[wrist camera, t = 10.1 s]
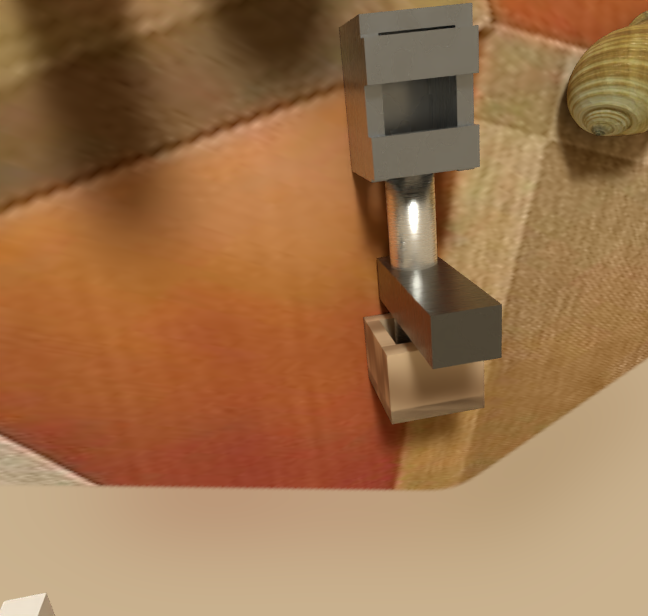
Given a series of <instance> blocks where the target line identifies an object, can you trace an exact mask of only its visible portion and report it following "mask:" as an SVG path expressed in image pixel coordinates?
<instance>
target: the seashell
mask: <svg viewBox="0 0 648 616" xmlns="http://www.w3.org/2000/svg"><path fill="white" fill-rule="evenodd" d="M567 106H568V108H569V111H570V114H571V116H572V117H573V119H574V120H575V122H576V123H577V124H578V125H579V126H580V127H581V128H582V129H584V130H585V131H587V132H589V133H592V134H595V135H596V136H613V135H615V136H623V135H634V134H641V133H643V132H646V131H647V130H648V11H645V12H643V13H642V14H640V15H639V16H637V17H636V18H635V19H634V20H633V21H632V23H631V24H630V25H629V26H628V27H624V28H622V29H618V30H616V31H613V32H611V33H609V34H608V35H606V36H604V37H602V38H601V39H599V40H598V41H597V42H595V43H594V44H593V45H592V46H591V47H590V48H589V49H588V50H587V51H586V52H585V53H584V55H583V56H582V57H581V59H580V60H579V62H578V63H577V65H576V66H575V68H574V70H573V72H572V74H571V77H570V79H569V83H568V87H567Z"/></svg>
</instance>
